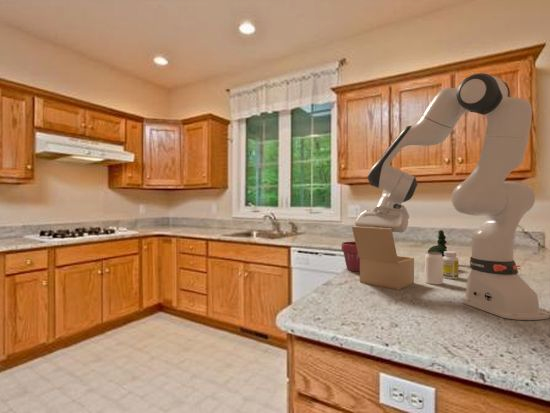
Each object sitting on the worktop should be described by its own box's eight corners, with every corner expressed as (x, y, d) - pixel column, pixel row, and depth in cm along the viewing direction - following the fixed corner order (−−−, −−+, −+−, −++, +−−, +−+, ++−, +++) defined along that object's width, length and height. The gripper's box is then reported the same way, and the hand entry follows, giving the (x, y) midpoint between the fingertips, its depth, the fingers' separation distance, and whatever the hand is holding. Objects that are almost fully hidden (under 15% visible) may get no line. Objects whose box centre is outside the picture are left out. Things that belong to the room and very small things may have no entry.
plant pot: (335, 268, 158) (335, 242, 158) (358, 265, 164) (358, 240, 164) (354, 274, 145) (354, 245, 145) (378, 271, 151) (378, 243, 151)
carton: (376, 276, 140) (377, 253, 140) (413, 283, 129) (414, 258, 129) (359, 282, 130) (359, 257, 130) (398, 289, 119) (398, 262, 119)
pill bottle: (454, 276, 141) (454, 250, 140) (461, 279, 134) (461, 253, 134) (439, 275, 141) (439, 250, 141) (445, 279, 135) (445, 252, 135)
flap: (352, 226, 126) (351, 226, 126) (391, 228, 115) (390, 229, 114) (359, 257, 130) (359, 258, 130) (398, 262, 119) (397, 263, 118)
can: (445, 285, 125) (445, 254, 125) (427, 284, 126) (427, 254, 126) (440, 281, 132) (440, 252, 131) (423, 280, 133) (423, 251, 133)
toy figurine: (431, 265, 174) (424, 269, 153) (432, 229, 175) (425, 229, 154) (451, 267, 168) (446, 271, 148) (452, 230, 170) (447, 229, 149)
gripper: (360, 205, 135) (346, 230, 128) (408, 205, 120) (396, 234, 113) (365, 215, 138) (353, 240, 131) (413, 217, 123) (401, 245, 117)
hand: (373, 237), depth 122 cm, fingers closed, pressing on flap
